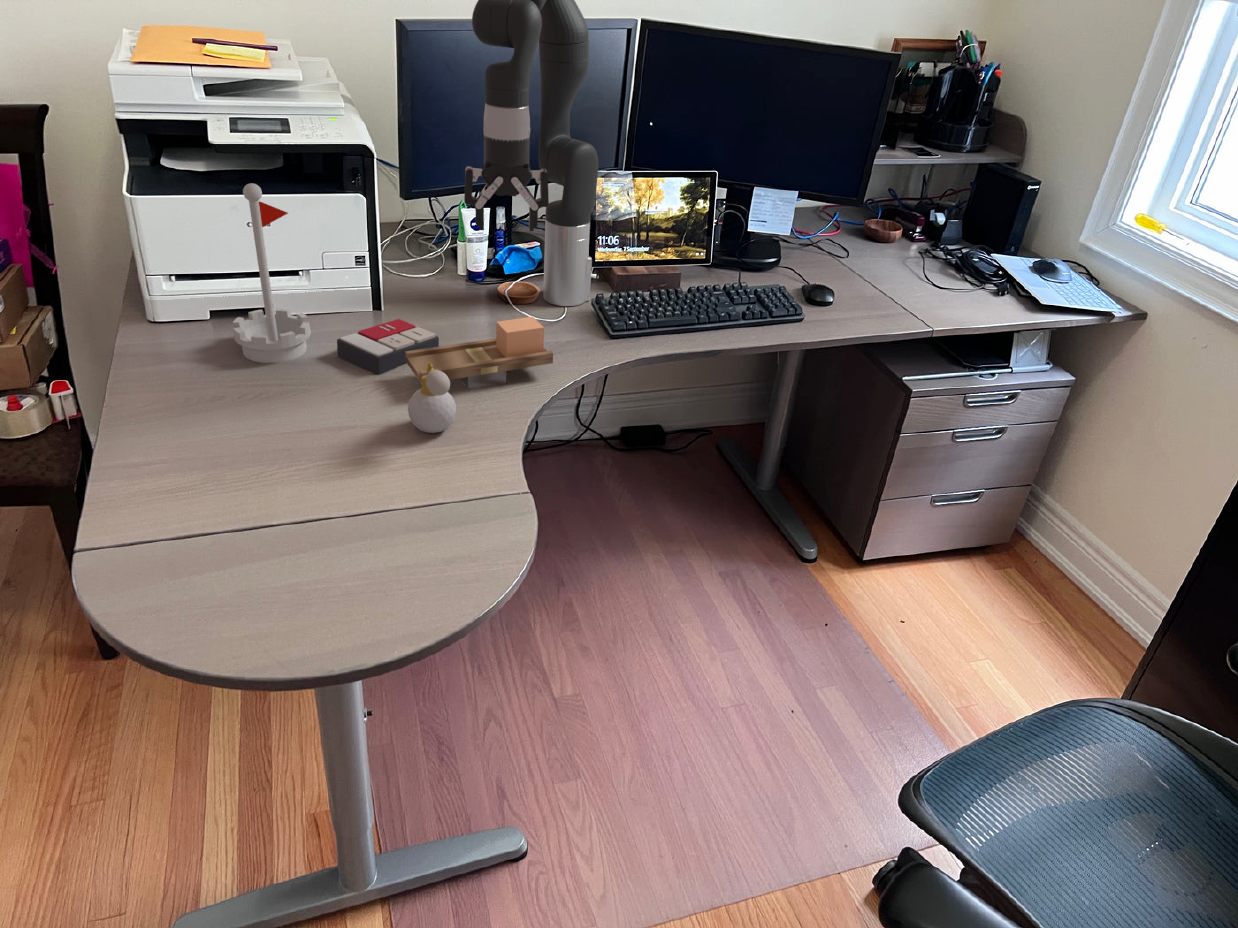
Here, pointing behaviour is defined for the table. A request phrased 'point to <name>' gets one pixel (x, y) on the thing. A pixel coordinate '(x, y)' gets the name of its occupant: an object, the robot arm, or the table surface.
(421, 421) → the perfume bottle
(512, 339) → the block
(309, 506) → the table surface
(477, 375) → the beam
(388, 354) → the calculator
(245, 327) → the flag stand
